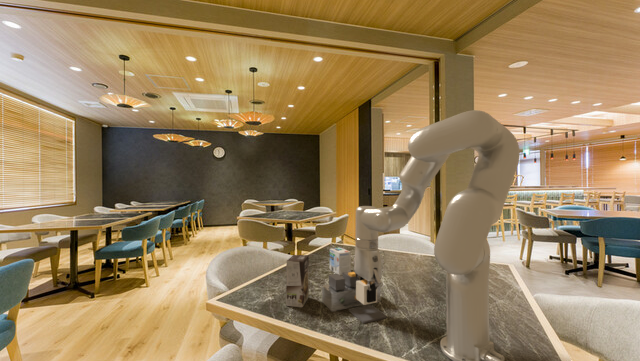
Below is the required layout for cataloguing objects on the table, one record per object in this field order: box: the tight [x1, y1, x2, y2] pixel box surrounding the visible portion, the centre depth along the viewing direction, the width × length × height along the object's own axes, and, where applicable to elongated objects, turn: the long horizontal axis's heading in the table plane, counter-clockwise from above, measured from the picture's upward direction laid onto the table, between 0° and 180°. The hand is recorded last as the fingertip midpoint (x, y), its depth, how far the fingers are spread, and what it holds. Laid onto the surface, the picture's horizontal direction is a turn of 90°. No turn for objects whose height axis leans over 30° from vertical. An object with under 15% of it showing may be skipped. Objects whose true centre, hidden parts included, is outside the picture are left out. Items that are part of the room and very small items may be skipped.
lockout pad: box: [348, 304, 388, 324], centre depth 88 cm, size 9×9×1 cm
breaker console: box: [321, 283, 381, 312], centre depth 98 cm, size 8×20×6 cm, turn 113°
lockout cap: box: [356, 279, 378, 306], centre depth 89 cm, size 5×5×7 cm
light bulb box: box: [329, 247, 352, 276], centre depth 132 cm, size 11×7×11 cm, turn 25°
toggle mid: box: [341, 270, 357, 287], centre depth 99 cm, size 6×4×4 cm, turn 23°
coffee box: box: [285, 254, 310, 308], centre depth 98 cm, size 9×6×16 cm
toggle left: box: [328, 273, 345, 291], centre depth 96 cm, size 6×4×4 cm, turn 23°
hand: (366, 297), depth 89 cm, fingers closed on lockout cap, 4 cm apart
